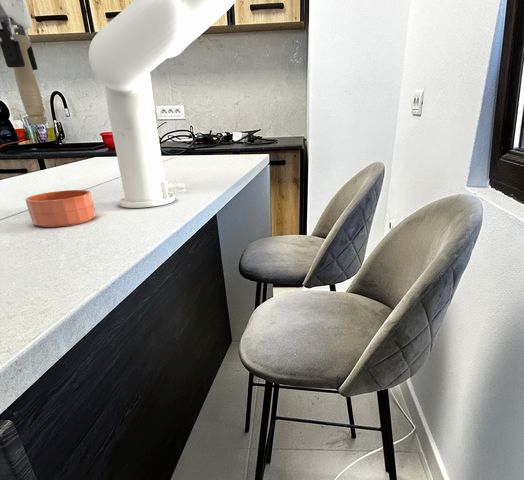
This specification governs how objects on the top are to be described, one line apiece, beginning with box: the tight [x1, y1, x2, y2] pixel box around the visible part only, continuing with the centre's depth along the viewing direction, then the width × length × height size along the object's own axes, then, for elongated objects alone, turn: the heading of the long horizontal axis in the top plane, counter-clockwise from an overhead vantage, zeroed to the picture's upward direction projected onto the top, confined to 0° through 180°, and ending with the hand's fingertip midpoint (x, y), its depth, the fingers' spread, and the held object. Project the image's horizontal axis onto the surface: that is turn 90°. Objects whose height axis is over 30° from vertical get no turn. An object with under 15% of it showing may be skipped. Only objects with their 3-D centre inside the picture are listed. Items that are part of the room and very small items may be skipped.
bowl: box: [24, 189, 97, 228], centre depth 86 cm, size 12×12×5 cm
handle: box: [2, 33, 48, 126], centre depth 86 cm, size 5×6×15 cm
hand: (23, 67), depth 85 cm, fingers closed on handle, 6 cm apart
